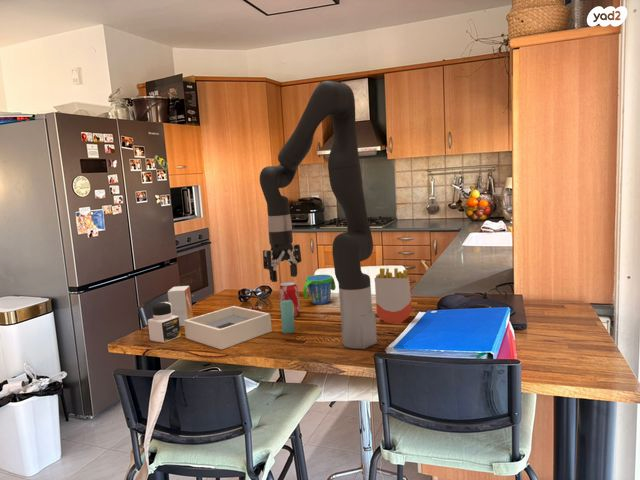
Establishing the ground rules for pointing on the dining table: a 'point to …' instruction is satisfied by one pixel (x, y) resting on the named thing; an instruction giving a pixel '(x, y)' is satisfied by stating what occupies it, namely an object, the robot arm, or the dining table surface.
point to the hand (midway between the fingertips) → (284, 279)
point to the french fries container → (393, 295)
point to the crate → (227, 326)
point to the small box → (181, 303)
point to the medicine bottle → (163, 323)
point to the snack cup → (319, 288)
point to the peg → (287, 316)
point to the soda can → (290, 295)
